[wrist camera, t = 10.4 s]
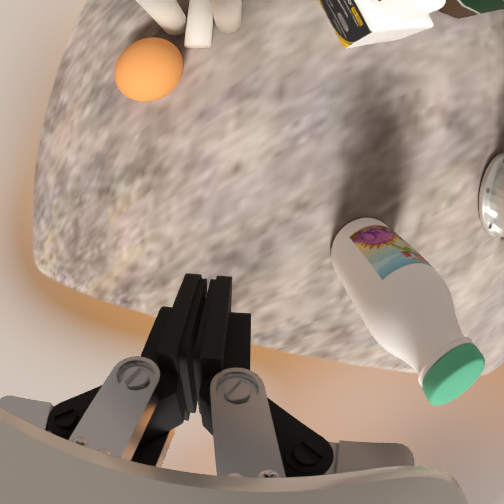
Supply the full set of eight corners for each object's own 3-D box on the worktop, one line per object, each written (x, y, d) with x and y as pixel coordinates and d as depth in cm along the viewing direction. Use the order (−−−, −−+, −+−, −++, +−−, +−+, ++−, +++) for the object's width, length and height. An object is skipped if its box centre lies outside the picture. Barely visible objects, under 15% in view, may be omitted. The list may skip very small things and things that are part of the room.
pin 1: (192, 27, 20) (173, -7, 12) (170, 39, 20) (142, 10, 12) (182, 11, 19) (160, -26, 11) (160, 23, 19) (130, -9, 11)
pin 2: (245, 27, 20) (247, -9, 12) (222, 37, 20) (214, 4, 13) (234, 10, 19) (232, -30, 11) (211, 19, 19) (199, -18, 12)
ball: (188, 23, 17) (197, 82, 18) (169, 54, 22) (177, 105, 24) (116, 28, 14) (120, 91, 16) (110, 61, 19) (115, 115, 21)
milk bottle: (368, 285, 33) (446, 419, 15) (316, 264, 31) (384, 423, 13) (401, 231, 30) (515, 345, 12) (350, 204, 28) (476, 328, 10)
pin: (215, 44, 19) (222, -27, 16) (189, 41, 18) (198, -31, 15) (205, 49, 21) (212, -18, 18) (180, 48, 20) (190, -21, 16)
